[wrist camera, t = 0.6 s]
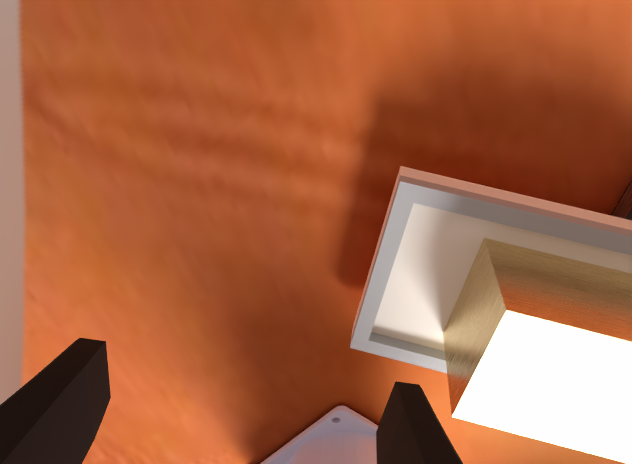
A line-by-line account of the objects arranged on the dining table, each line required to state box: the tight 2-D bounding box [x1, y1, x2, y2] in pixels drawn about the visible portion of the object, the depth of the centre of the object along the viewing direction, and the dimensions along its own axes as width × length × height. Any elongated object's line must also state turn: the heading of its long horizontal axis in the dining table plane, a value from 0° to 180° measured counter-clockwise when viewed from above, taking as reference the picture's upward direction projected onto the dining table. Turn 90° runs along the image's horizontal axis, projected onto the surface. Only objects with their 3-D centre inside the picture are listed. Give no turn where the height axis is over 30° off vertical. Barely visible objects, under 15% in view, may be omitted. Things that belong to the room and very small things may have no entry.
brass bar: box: [443, 238, 632, 464], centre depth 17 cm, size 8×5×4 cm, turn 79°
